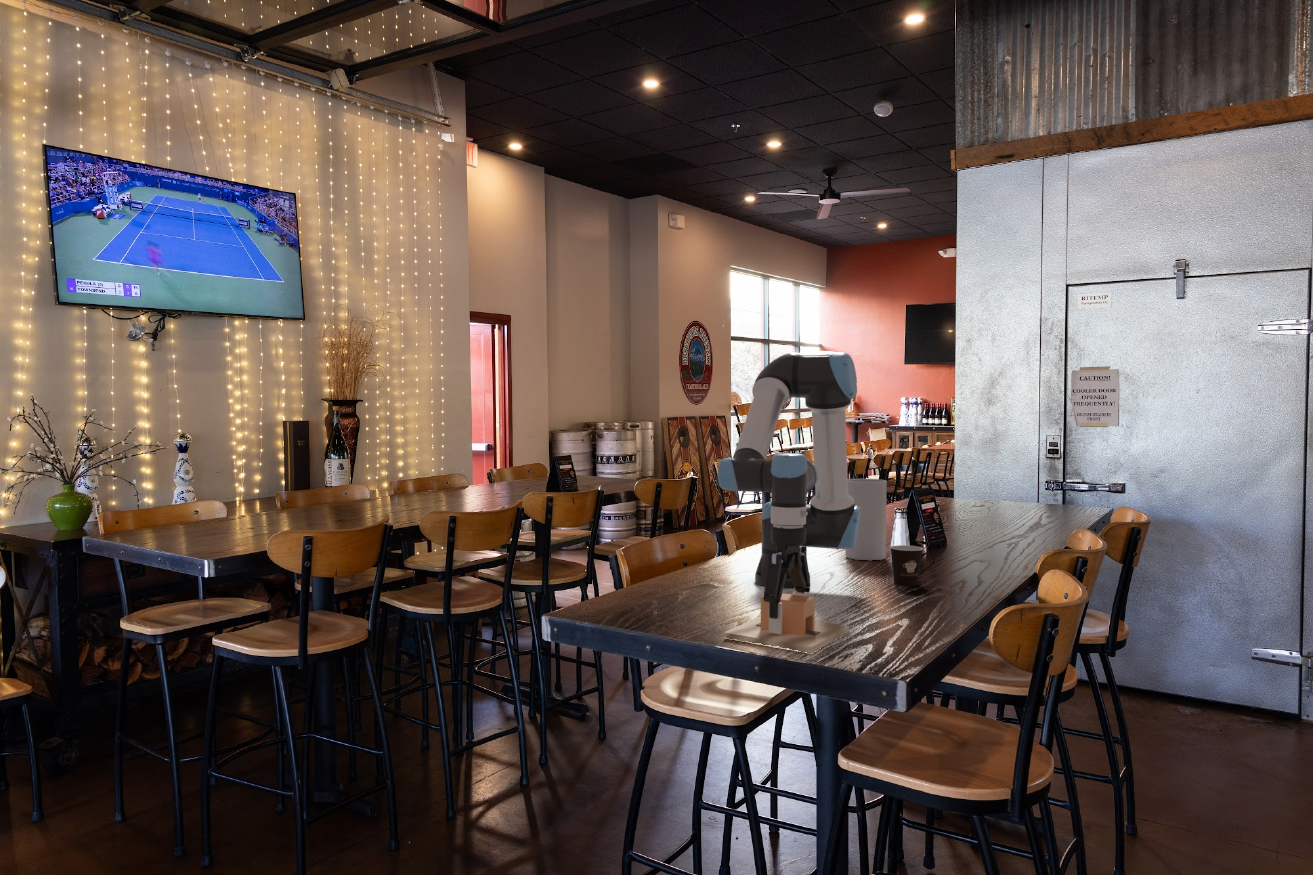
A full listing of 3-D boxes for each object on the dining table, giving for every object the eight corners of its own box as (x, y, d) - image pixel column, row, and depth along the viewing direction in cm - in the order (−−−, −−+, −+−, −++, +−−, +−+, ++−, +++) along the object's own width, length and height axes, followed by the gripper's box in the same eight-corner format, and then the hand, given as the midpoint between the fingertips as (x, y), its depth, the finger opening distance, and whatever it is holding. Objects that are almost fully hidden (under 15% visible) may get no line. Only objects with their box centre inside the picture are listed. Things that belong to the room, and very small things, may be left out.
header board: (724, 639, 187) (724, 618, 187) (766, 619, 203) (767, 600, 203) (811, 654, 176) (811, 632, 175) (849, 632, 192) (849, 612, 192)
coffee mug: (887, 585, 241) (888, 549, 241) (891, 579, 249) (892, 544, 249) (932, 589, 237) (932, 552, 236) (934, 582, 245) (935, 547, 244)
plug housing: (760, 628, 190) (760, 596, 190) (772, 623, 194) (772, 591, 194) (803, 635, 184) (803, 602, 184) (814, 629, 189) (814, 597, 189)
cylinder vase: (842, 554, 289) (843, 478, 288) (880, 554, 289) (881, 478, 288) (849, 561, 277) (850, 482, 275) (889, 561, 276) (890, 482, 275)
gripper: (780, 533, 177) (779, 642, 178) (826, 521, 196) (825, 618, 197) (747, 530, 181) (746, 636, 182) (795, 518, 200) (794, 614, 201)
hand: (787, 627), depth 189 cm, fingers open, 11 cm apart
